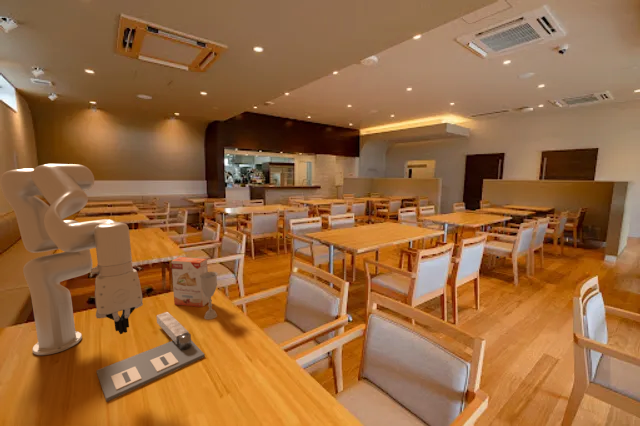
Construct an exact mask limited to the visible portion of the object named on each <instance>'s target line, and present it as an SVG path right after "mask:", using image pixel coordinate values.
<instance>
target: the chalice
mask: <svg viewBox="0 0 640 426" xmlns="http://www.w3.org/2000/svg"><path fill="white" fill-rule="evenodd" d="M217 277H218V271H217V272H216V271H208V272H205V273H203V274H201V275H200V278H201V288H202V290H203V292H204V294H205V295H206V297H208V298H209V300H208V305H207V307H208V310H207V311H206V312H205V314H204V319H205V320H214V319H215V318H217V317H218V314H217V312H216V310H215V309H213V308H212V306H213V303H212V297H213V296H214V294H215V292H216V290H217V286H218V280H217V279H218V278H217Z"/></svg>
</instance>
